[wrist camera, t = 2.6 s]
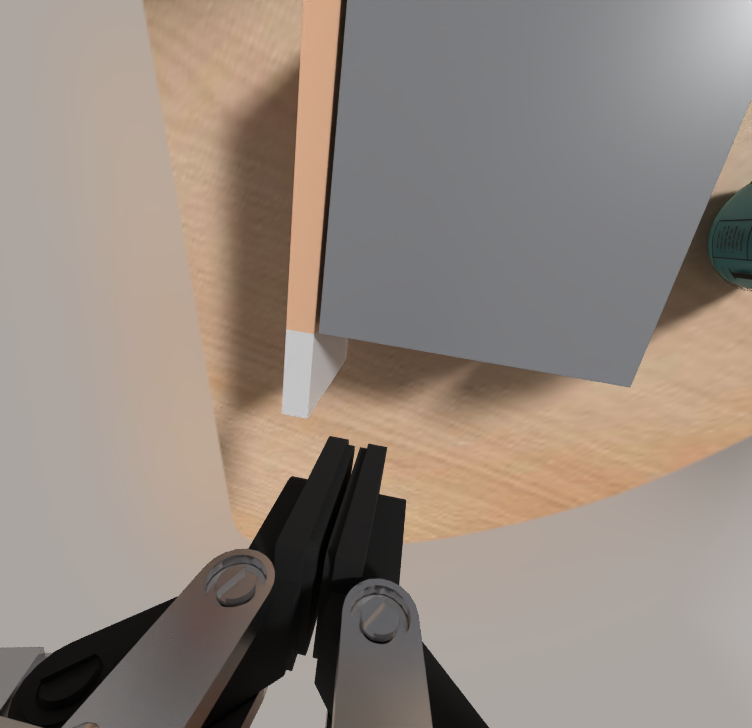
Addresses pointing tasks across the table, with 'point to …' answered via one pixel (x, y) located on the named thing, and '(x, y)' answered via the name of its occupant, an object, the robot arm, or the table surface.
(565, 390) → the table surface
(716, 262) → the beverage bottle
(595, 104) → the grey smooth box
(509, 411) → the table surface
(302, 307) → the door
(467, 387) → the table surface
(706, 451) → the table surface
